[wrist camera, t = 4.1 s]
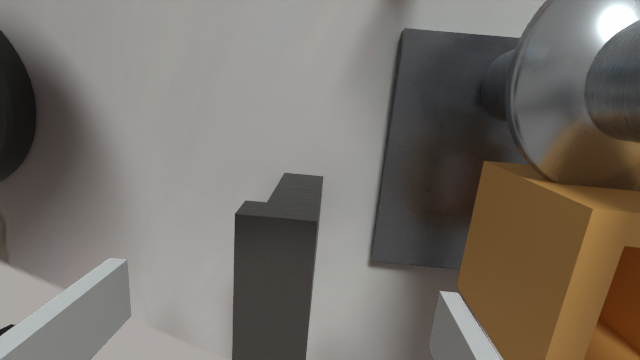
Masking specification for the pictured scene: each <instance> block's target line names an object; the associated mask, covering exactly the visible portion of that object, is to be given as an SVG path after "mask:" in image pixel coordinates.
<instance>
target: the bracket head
mask: <svg viewBox="0 0 640 360" xmlns="http://www.w3.org/2000/svg"><path fill="white" fill-rule="evenodd" d="M457 288H458V290H459V291H460V293H461V294H462V296H463V297H464V299H465V300H466V302H467V304H468V305H469V307H470V308H471V310H472V311H473V313H474V314H475V316H476V318H477V319H478V321H479V322H480V324H481V325H482V327H483V328H484V330H485V331H486V333H487V335H488V336H489V338H490V339H491V341H492V342H493V344H494V345H495V347H496V349H497V350H498V352H499V353H500V355H501V356H502V358H503V359H504V360H640V191H632V190H620V189H609V188H598V187H587V186H576V185H565V184H558V183H556V182H553V181H551V180H548V179H546V178H544V177H542V176H541V175H540V174H539V173H537V172H536V171H535V170H534V169H533V168H532V167H531V166H530V165H526V164H515V163H504V162H493V161H484V163H483V168H482V172H481V177H480V182H479V186H478V191H477V195H476V200H475V204H474V209H473V214H472V218H471V223H470V227H469V232H468V236H467V241H466V246H465V250H464V255H463V259H462V264H461V268H460V273H459V278H458V282H457Z"/></svg>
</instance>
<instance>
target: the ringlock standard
mask: <svg viewBox="0 0 640 360" xmlns="http://www.w3.org/2000/svg"><path fill="white" fill-rule="evenodd" d="M484 161H493V162H504V163H515V164H526V165H530V166H531V167H532V168H533V169H534V170H535V171H536V172H537V173H539V174H540V175H541V176H542V177H544V178H546V179H548V180H551V181H553V182H556V183H558V184H565V185H576V186H587V187H598V188H609V189H620V190H632V191H640V0H546V2H545V3H544V4H543V5H542V6H541V7H540V8H539V9H538V11H537V12H536V14H535V15H534V16H533V18H532V19H531V21H530V22H529V23H528V25H527V27H526V29H525V30H524V32H523V34H522V36H521V38H512V37H500V36H489V35H477V34H465V33H453V32H442V31H430V30H418V29H406V28H405V29H404V30H403V31H402V36H401V44H400V51H399V58H398V65H397V73H396V80H395V87H394V94H393V102H392V109H391V116H390V123H389V131H388V138H387V145H386V152H385V159H384V167H383V174H382V181H381V188H380V196H379V203H378V210H377V217H376V225H375V232H374V239H373V246H372V254H371V256H372V260H373V261H376V262H387V263H397V264H408V265H419V266H429V267H440V268H450V269H460V268H461V264H462V259H463V255H464V250H465V246H466V241H467V236H468V232H469V227H470V223H471V218H472V214H473V209H474V204H475V200H476V195H477V191H478V186H479V182H480V177H481V172H482V168H483V163H484Z"/></svg>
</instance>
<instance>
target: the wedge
mask: <svg viewBox="0 0 640 360" xmlns="http://www.w3.org/2000/svg"><path fill="white" fill-rule="evenodd" d="M322 185H323V176H312V175H301V174H290V173H284V175H283V177H282V178H281V180H280V182H279V183H278V185H277V187H276V188H275V190H274V192H273V193H272V195H271V197H270V198H269V200H268V202H267V203H266V202H255V201H245V202H244V203H243V205H242V206H241V207H240V208H239V209H238V211H237V212H236V213H235V242H234V296H233V349H232V360H306V351H307V339H308V329H309V319H310V309H311V299H312V289H313V279H314V269H315V259H316V249H317V239H318V229H319V218H320V207H321V196H322Z"/></svg>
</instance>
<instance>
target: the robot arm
mask: <svg viewBox="0 0 640 360" xmlns="http://www.w3.org/2000/svg"><path fill="white" fill-rule="evenodd" d="M34 128H35V105H34V98H33V93H32V88H31V85H30V82H29V78H28V76H27V73H26V71H25V68H24V66H23V64H22V62H21V60H20V58H19V56H18V54H17V53H16V51H15V49H14V48H13V46H12V45H11V43H10V42H9V40H8V39H7V38H6V36H5V35H4V34H3V33H2V31H1V30H0V181H1V180H3V179H5V178H6V177H7V176H9V175H10V174H11V173H12V172H14V171H15V169H16V168H17V167H18V166H19V165H20V164H21V162H22V161H23V159H24V158H25V156H26V154H27V152H28V150H29V148H30V145H31V142H32V139H33V134H34ZM130 317H131V307H130V292H129V278H128V264H127V260H126V259H116V258H109V259H107V260H106V261H104V262H103V263H102V264H100V265H99V266H97V267H96V268H95V269H93V270H92V271H90V272H89V273H88V274H86V275H85V276H83V277H82V278H81V279H79V280H78V281H76V282H75V283H74V284H72V285H71V286H69V287H68V288H67V289H65V290H64V291H62V292H61V293H60V294H58V295H57V296H55V297H54V298H53V299H51V300H50V301H49V302H47V303H46V304H44V305H43V306H42V307H40V308H39V309H37V310H36V311H35V312H33V313H32V314H30V315H29V316H28V317H26V318H25V319H23V320H22V321H21V322H19V323H18V324H16V325H12V324H11V325H9V326H7V327H5V328H3V329H1V330H0V360H91V359H92V357H93V356H94V355H95V354H96V353H97V352H98V351H99V350H100V349H101V348H102V346H104V345H105V343H106V342H107V341H108V340H109V339H110V338H111V337H112V336H113V335H114V334H115V333H116V331H118V330H119V328H120V327H121V326H122V325H123V324H124V323H125V322H126V321H127V320H128V319H129V318H130ZM428 347H429V350H430V353H431V355H432V358H433V360H500V359H499V357H498V355H497V354H496V352H495V351H494V349H493V348H492V346H491V344H490V343H489V341H488V340H487V338H486V336H485V335H484V333H483V332H482V330H481V328H480V327H479V325H478V324H477V322H476V320H475V319H474V317H473V316H472V314H471V312H470V311H469V309H468V308H467V306H466V305H465V303H464V301H463V300H462V298H461V297H460V295H459V293H456V292H446V291H439V296H438V301H437V306H436V311H435V316H434V321H433V326H432V331H431V336H430V341H429V346H428Z"/></svg>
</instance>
